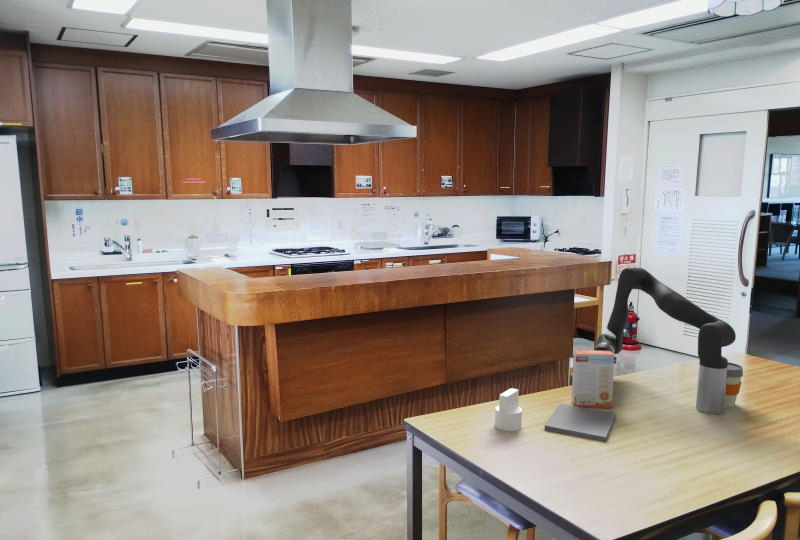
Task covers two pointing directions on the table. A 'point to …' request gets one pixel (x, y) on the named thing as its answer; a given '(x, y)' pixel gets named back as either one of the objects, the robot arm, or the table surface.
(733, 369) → the reusable coffee cup
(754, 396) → the table surface
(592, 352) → the cracker box
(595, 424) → the board
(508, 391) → the cylinder with rectangular tab
